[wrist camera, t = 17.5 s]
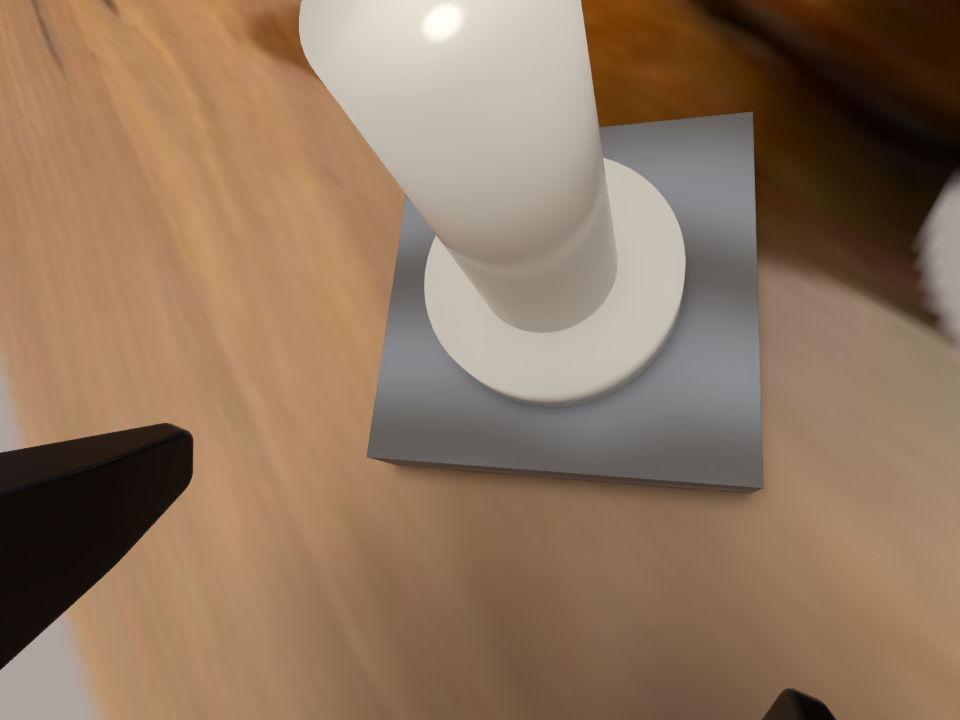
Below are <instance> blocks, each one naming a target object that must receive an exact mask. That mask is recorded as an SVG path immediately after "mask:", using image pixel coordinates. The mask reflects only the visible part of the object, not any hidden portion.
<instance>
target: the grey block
mask: <svg viewBox="0 0 960 720" xmlns="http://www.w3.org/2000/svg"><path fill="white" fill-rule="evenodd" d="M599 131H600V138H601V145H602V152H603V158H606V159H609V160H612V161H615V162H618V163H620V164H622V165H624V166H626V167H628V168H630V169H632V170H633V171H635V172H636V173H638V174H639V175H641V176H642V177H644V178H645V179H646V180H647V181H649V182H650V183H651V184H652V185H653V186H654V187H655V188H656V189H657V190H658V191H659V192H660V194H661V195H662V196H663V197H664V198H665V200H666V201H667V203H668V204H669V206H670V207H671V209H672V211H673V212H674V214H675V217H676V219H677V221H678V224H679V226H680V229H681V233H682V237H683V241H684V247H685V259H686V264H685V278H684V287H683V297H682V305H681V309H680V313H679V318H678V321H677V324H676V326H675V329H674V331H673V334H672V336H671V338H670V339H669V341H668V343H667V345H666V347H665V348H664V350H663V351H662V353H661V354H660V355H659V357H658V358H657V359H656V361H655V362H654V363H653V364H652V365H651V366H650V367H649V368H648V369H647V370H646V371H645V372H644V373H643V374H642V375H641V376H640V377H638V378H637V379H636V380H634V381H633V382H632V383H631V384H629V385H628V386H626V387H624V388H623V389H621V390H619V391H618V392H616V393H614V394H612V395H610V396H608V397H605V398H603V399H601V400H598V401H595V402H592V403H588V404H585V405H580V406H574V407H568V408H541V407H532V406H528V405H524V404H520V403H516V402H514V401H511V400H508V399H506V398H503V397H501V396H500V395H498V394H496V393H494V392H492V391H491V390H489V389H488V388H486V387H485V386H484V385H482V384H481V383H480V382H478V381H477V380H476V379H475V378H474V377H473V376H471V375H470V374H469V373H468V372H467V371H465V370H464V369H463V368H462V367H461V366H460V365H459V364H458V363H457V362H456V361H455V360H454V359H453V358H452V357H451V356H450V355H449V354H448V353H447V351H446V350H445V348H444V347H443V346H442V344H441V343H440V341H439V339H438V338H437V336H436V334H435V332H434V330H433V328H432V325H431V322H430V319H429V317H428V312H427V308H426V303H425V292H424V280H425V269H426V264H427V259H428V255H429V252H430V249H431V246H432V243H433V241H434V239H435V236H436V234H435V233H434V232H433V230H432V229H431V228H430V226H429V225H428V224H427V222H426V221H425V219H424V218H423V217H422V215H421V214H420V213H419V211H418V210H417V209H416V207H415V206H414V205H413V203H412V202H411V201H410V199H409V198H408V197H407V195H406V200H405V207H404V213H403V220H402V226H401V233H400V240H399V246H398V253H397V260H396V266H395V273H394V279H393V286H392V293H391V299H390V306H389V312H388V319H387V326H386V332H385V339H384V345H383V352H382V359H381V365H380V372H379V378H378V385H377V392H376V398H375V405H374V412H373V418H372V425H371V431H370V438H369V445H368V451H367V457H368V458H372V459H376V460H380V461H383V462H387V463H391V464H395V465H405V466H418V467H430V468H443V469H455V470H467V471H480V472H492V473H504V474H517V475H529V476H542V477H554V478H566V479H579V480H591V481H603V482H616V483H628V484H641V485H653V486H665V487H678V488H690V489H702V490H715V491H727V492H740V493H752V492H755V491H757V490H760V489H762V488H763V462H762V427H761V391H760V355H759V320H758V284H757V249H756V213H755V177H754V142H753V112H747V113H737V114H728V115H718V116H708V117H698V118H689V119H679V120H669V121H659V122H649V123H640V124H630V125H620V126H610V127H601V128H599Z"/></svg>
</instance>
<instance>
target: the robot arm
mask: <svg viewBox="0 0 960 720" xmlns="http://www.w3.org/2000/svg"><path fill="white" fill-rule="evenodd" d="M192 475H193V437H192V435H191V433H190V432H189V431H187V430H185V429H182V428H180V427H178V426H175V425H173V424H169V423H162V424H156V425H151V426H145V427H140V428H134V429H129V430H123V431H118V432H112V433H107V434H101V435H96V436H90V437H85V438H79V439H74V440H68V441H63V442H57V443H52V444H46V445H41V446H35V447H30V448H24V449H19V450H13V451H8V452H2V453H0V670H1V669H2V668H3V667H4V666H5V665H6V664H8V663H9V662H10V661H11V660H12V659H13V658H14V657H15V656H16V655H17V654H19V653H20V652H21V651H22V650H23V649H24V648H25V647H26V646H27V645H29V644H30V643H31V642H32V641H33V640H34V639H35V638H36V637H37V636H38V635H39V634H40V633H42V632H43V630H45V629H46V628H47V627H48V626H49V625H51V624H52V623H53V622H54V621H55V620H56V619H57V618H58V617H59V616H60V615H62V614H63V613H64V612H65V611H66V610H67V609H68V608H69V607H70V606H71V605H73V604H74V603H75V602H76V601H77V600H78V599H79V598H80V597H81V596H82V595H84V594H85V593H86V592H87V591H88V590H89V589H90V588H91V587H92V586H93V585H95V584H96V583H97V582H98V581H99V580H100V579H101V578H102V577H103V576H104V575H105V574H106V573H107V572H109V571H110V570H111V569H112V568H113V567H114V566H115V565H116V564H117V563H118V562H119V561H120V560H121V559H122V558H123V557H124V556H125V555H126V553H127V552H128V551H129V550H130V549H131V548H132V547H133V546H134V545H135V544H136V543H137V542H138V540H139V539H140V538H141V537H142V536H143V535H144V534H145V533H146V532H147V531H148V530H149V529H150V527H151V526H152V525H153V524H154V523H155V522H156V521H157V520H158V519H159V518H160V517H161V515H162V514H163V513H164V512H165V511H166V510H167V509H168V508H169V507H170V506H171V505H172V503H173V502H174V501H175V500H176V499H177V498H178V497H179V496H180V495H181V494H182V493H183V492H184V490H185V489H186V488H187V486H188V485H189V483H190V481H191V479H192ZM762 720H836V719H835V717H834V716H833V714H832V713H831V712H830V710H829V709H828V707H827V706H826V705H825V704H824V703H823V702H822V701H820V700H819V699H817V698H814V697H812V696H810V695H807V694H805V693H802V692H800V691H798V690H795V689H792V688H788V689H785V690H783V691H782V692H781V694H780V695H779V696H778V698H777V699H776V700H775V702H774V703H773V705H772V706H771V708H770V709H769V710H768V712H767V713H766V715H765V716H764V717H763V719H762Z"/></svg>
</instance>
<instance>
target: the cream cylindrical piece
mask: <svg viewBox="0 0 960 720" xmlns="http://www.w3.org/2000/svg"><path fill="white" fill-rule="evenodd" d="M299 33H300V40H301V45H302V48H303V51H304V54H305V56H306V58H307V60H308V62H309V63H310V65H311V67H312V68H313V70H314V71H315V72H316V74H317V75H318V76H319V78H320V79H321V80H322V82H323V83H324V85H325V86H326V87H327V89H328V90H329V91H330V93H331V94H332V95H333V97H334V98H335V99H336V101H337V102H338V103H339V105H340V106H341V107H342V109H343V110H344V112H345V113H346V114H347V116H348V117H349V118H350V120H351V121H352V122H353V124H354V125H355V126H356V128H357V129H358V130H359V132H360V133H361V134H362V136H363V137H364V139H365V140H366V141H367V143H368V144H369V145H370V147H371V148H372V149H373V151H374V152H375V153H376V155H377V156H378V157H379V159H380V160H381V161H382V163H383V164H384V165H385V167H386V168H387V170H388V171H389V172H390V174H391V175H392V176H393V178H394V179H395V180H396V182H397V183H398V184H399V186H400V187H401V188H402V190H403V191H404V192H405V194H406V195H407V197H408V198H409V199H410V201H411V202H412V203H413V205H414V206H415V207H416V209H417V210H418V211H419V213H420V214H421V215H422V217H423V218H424V219H425V221H426V222H427V224H428V225H429V226H430V228H431V229H432V230H433V232H434V233H435V234H436V236H435V239H434V241H433V243H432V246H431V249H430V252H429V255H428V259H427V264H426V269H425V280H424V292H425V303H426V308H427V312H428V317H429V319H430V322H431V325H432V328H433V330H434V332H435V334H436V336H437V338H438V339H439V341H440V343H441V344H442V346H443V347H444V348H445V350H446V351H447V353H448V354H449V355H450V356H451V357H452V358H453V359H454V360H455V361H456V362H457V363H458V364H459V365H460V366H461V367H462V368H463V369H464V370H465V371H467V372H468V373H469V374H470V375H471V376H473V377H474V378H475V379H476V380H477V381H478V382H480V383H481V384H482V385H484V386H485V387H486V388H488V389H489V390H491V391H492V392H494V393H496V394H498V395H500V396H501V397H503V398H506V399H508V400H511V401H514V402H516V403H520V404H524V405H528V406H532V407H541V408H568V407H574V406H580V405H585V404H588V403H592V402H595V401H598V400H601V399H603V398H605V397H608V396H610V395H612V394H614V393H616V392H618V391H619V390H621V389H623V388H624V387H626V386H628V385H629V384H631V383H632V382H633V381H634V380H636V379H637V378H638V377H640V376H641V375H642V374H643V373H644V372H645V371H646V370H647V369H648V368H649V367H650V366H651V365H652V364H653V363H654V362H655V361H656V359H657V358H658V357H659V355H660V354H661V353H662V351H663V350H664V348H665V347H666V345H667V343H668V341H669V339H670V338H671V336H672V334H673V331H674V329H675V326H676V324H677V321H678V318H679V313H680V309H681V305H682V297H683V287H684V278H685V264H686V259H685V247H684V241H683V237H682V233H681V229H680V226H679V224H678V221H677V219H676V217H675V214H674V212H673V211H672V209H671V207H670V206H669V204H668V203H667V201H666V200H665V198H664V197H663V196H662V195H661V194H660V192H659V191H658V190H657V189H656V188H655V187H654V186H653V185H652V184H651V183H650V182H649V181H647V180H646V179H645V178H644V177H642V176H641V175H639V174H638V173H636V172H635V171H633V170H632V169H630V168H628V167H626V166H624V165H622V164H620V163H618V162H615V161H612V160H609V159H606V158H603V152H602V145H601V138H600V131H599V124H598V118H597V111H596V104H595V97H594V90H593V83H592V76H591V69H590V62H589V55H588V48H587V41H586V34H585V27H584V20H583V13H582V6H581V0H302V2H301V8H300V15H299Z"/></svg>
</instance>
